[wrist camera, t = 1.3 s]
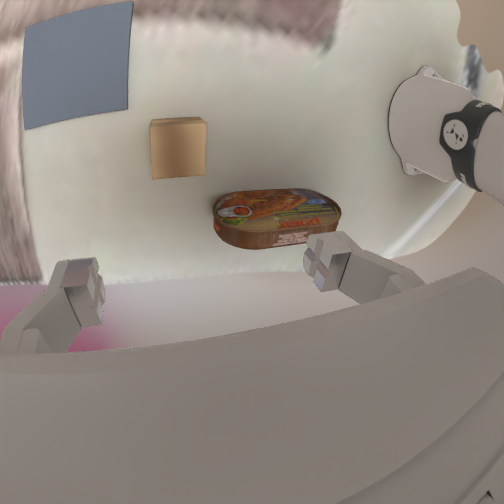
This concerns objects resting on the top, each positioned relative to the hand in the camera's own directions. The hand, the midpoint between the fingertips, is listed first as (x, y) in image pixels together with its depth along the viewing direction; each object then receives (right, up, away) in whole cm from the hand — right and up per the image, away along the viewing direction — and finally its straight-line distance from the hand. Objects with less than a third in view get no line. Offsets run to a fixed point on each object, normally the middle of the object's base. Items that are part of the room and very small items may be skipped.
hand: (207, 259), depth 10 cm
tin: (+3, +7, +25) cm, 26 cm away
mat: (-16, +19, +8) cm, 26 cm away
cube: (-6, +12, +17) cm, 22 cm away
